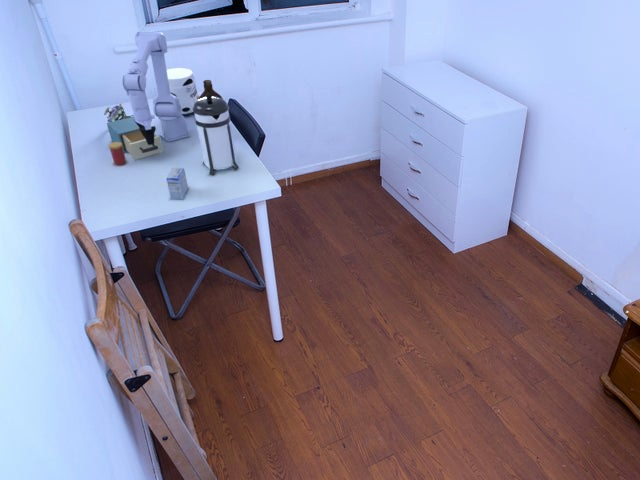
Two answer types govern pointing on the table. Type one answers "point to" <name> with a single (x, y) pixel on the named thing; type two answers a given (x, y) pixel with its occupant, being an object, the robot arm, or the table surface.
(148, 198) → the table surface
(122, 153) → the tea tin
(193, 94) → the milk container
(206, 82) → the olive oil
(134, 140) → the drawer
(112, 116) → the passion flower
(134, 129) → the cabinet
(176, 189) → the medicine box
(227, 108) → the coffee press
